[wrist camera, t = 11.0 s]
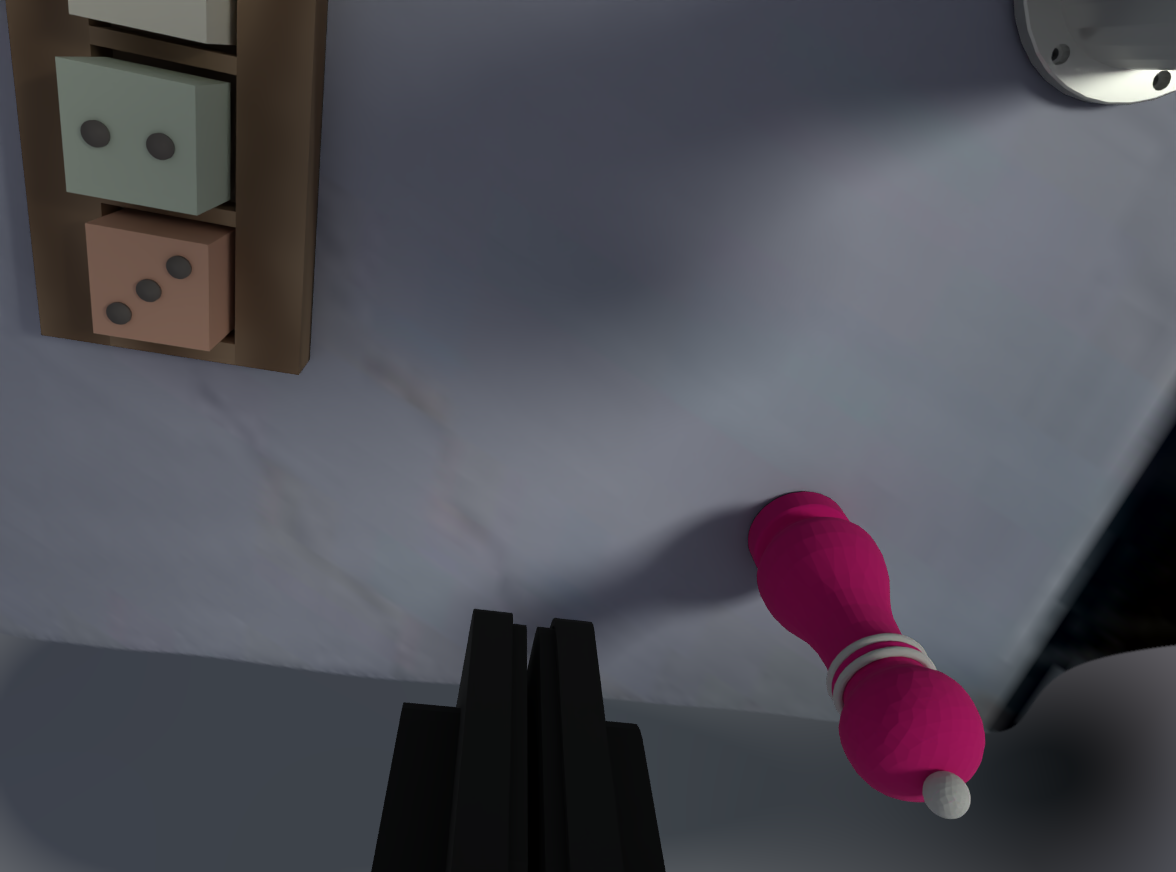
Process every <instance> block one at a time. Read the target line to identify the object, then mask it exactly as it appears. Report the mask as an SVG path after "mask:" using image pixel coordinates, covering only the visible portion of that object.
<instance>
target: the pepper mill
mask: <svg viewBox="0 0 1176 872" xmlns="http://www.w3.org/2000/svg"><path fill="white" fill-rule="evenodd" d="M748 546H749V550H750V553H751V555H752V558H753V560H754V562H755V564H756V566H757V568H758V571H757V584H758V589H759V592H760V595H761V597H762V599H763V601H764V603H765V605H766V606H767V608H768V610H769V611H770V613H771V614H772V615H773V617H774V618H775V619H776V620H777V621H778V622H779V623H780V624H781V625H782V626H783V627H784V628H786V629H787V630H788V631H789V632H791V633H792V634H794V635H796V636H797V637H799V638H800V639H802V640H804V641H805V642H807V643H808V644H809V645H810V646H811V647H812V648H813V649H814V650H815V651H816V652H817V653H818V655H819V656H820V658H821V659H822V661H823V662H824V664H825V666H826V667H827V670H828V673H827V678H826V685H827V690H828V693H829V695H830V697H831V699H832V700H833V701H834V705H835V708H836V710H837V712H838V713H839V714H840V715H841V716H840V722H839V735H840V740H841V744H842V747H843V749H844V752H845V754H846V756H847V758H848V760H849V761H850V763H851V764H852V766H853V767H854V769H855V770H856V772H857V773H858V774H859V775H860V776H861V777H862V778H863V779H864V780H865V781H866V782H867V783H868V784H869V785H870V786H871V787H873V788H874V789H876V790H877V791H879V792H881V793H883V794H885V795H886V796H889V797H892V798H896V799H899V800H903V801H911V802H925V803H926V804H927V806H928V807H929V808H930V810H931V811H933V812H934V813H935V814H936V815H939V816H940V817H943V818H948V819H955V818H959V817H960V816H962V815H963V814H965V812H967V810H968V808H969V806H970V793H969V790H968V787H967V785H966V784H965V783H966V782H967V781H968V780H969V779H970V778H971V777H972V776H973V775H974V773H975V772H976V770H977V768H978V766H979V764H980V762H981V760H982V757H983V751H984V746H985V733H984V728H983V724H982V719H981V717H980V715H979V713H978V711H977V709H976V707H975V705H974V703H973V701H972V699H971V698H970V696H969V695H968V694H967V692H966V691H965V690H964V689H963V688H962V686H960V685H959V684H958V683H957V682H956V681H955V680H953V679H952V678H950V677H948V676H947V675H945V674H944V673H942V672H939V671H937V670H936V667H935V665H934V664H933V662H932V661H931V660H930V659H929V658H928V657H927V654H926V652H925V651H924V649H923V647H922V646H921V645H920V644H919V643H917V642H916V641H914V640H913V639H912V638H909V637H907V636H904V635H902V634H901V632H900V630H899V628H898V626H897V624H896V622H895V620H894V618H893V615H892V611H891V605H890V586H889V576H888V572H887V568H886V564H885V561H884V558H883V555H882V554H881V552H880V550H879V548H878V547H877V545H876V543H875V541H874V540H873V539H872V537H871V536H870V535H869V534H868V533H867V532H866V531H865V530H863V529H862V528H861V527H860V526H858V525H856V524H854V523H851V522H850V521H849V520H848V518H847V517H846V515H845V514H844V513H843V511H842V510H841V508H840V507H839V506H838V505H837V503H836V502H834V501H833V500H832V499H830V498H828V497H826V496H824V495H822V494H819V493H814V492H805V491H803V492H796V493H789V494H786V495H784V496H781V497H779V498H777V499H775V500H773V501H772V502H771V503H769V504H768V505H766V506H765V507H764V508H763V509H762V510H761V511H760V512H759V514H758V515H757V516H756V517H755V519H754V521H753V523H752V525H751V527H750V530H749V535H748Z"/></svg>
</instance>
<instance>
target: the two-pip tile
mask: <svg viewBox="0 0 1176 872" xmlns="http://www.w3.org/2000/svg"><path fill="white" fill-rule="evenodd" d="M55 62H56V74H57V86H58V97H59V109H60V121H61V133H62V144H63V156H64V168H65V179H66V191H67V192H71V193H76V194H82V195H87V196H93V197H98V198H103V199H109V200H114V201H120V202H125V203H131V204H136V205H142V206H147V207H153V208H158V209H163V210H169V211H174V212H180V213H185V214H191V215H196V216H197V215H200V214H202V213H204V212H206V211H208V210H210V209H212V208H214V207H216V206H218V205H220V204H223V203H225V202H227V201H229V200H230V151H231V83H229V82H224V81H219V80H214V79H210V78H205V77H200V76H195V75H191V74H186V73H181V72H176V71H172V70H167V69H162V68H157V67H153V66H148V65H143V64H138V63H134V62H129V61H124V60H119V59H115V58H110V57H55Z"/></svg>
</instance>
